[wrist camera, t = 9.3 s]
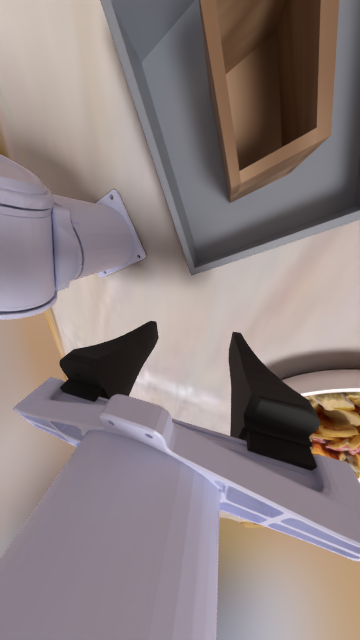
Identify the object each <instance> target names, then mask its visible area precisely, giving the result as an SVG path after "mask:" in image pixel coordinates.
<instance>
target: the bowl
mask: <svg viewBox="0 0 360 640" xmlns="http://www.w3.org/2000/svg"><path fill="white" fill-rule="evenodd" d="M282 381H283V382H284V383H285V384H287V385H288V386H289V387H291V388H292V389H293V390H295V391H296V392H298V393H299V394H301V395H302V396H304V397H305V398H306V399H308V400H309V401H310V403H311V405H312V406H313V408H314V410H315V412H316V414H317V416H318V418H319V420H320V426H319V427H318V429H317V430H316V431H315V432H314V433H313V434H312V435H310V436H309V438H310V441H311V443H312V447H310V449H311V452H312V454H313V455H322V456H326V457H329V458H333V459H336V460H340V461H343V462H346V463H348V464H350V466H351V468H352V469H353V471H354V473H355V475H356V477H357V479H358V481H359V483H360V370H328V371H318V372H312V373H306V374H301V375H297V376H293V377H290V378H287V379H284V380H282Z"/></svg>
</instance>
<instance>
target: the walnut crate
mask: <svg viewBox="0 0 360 640" xmlns="http://www.w3.org/2000/svg"><path fill="white" fill-rule="evenodd" d="M199 8H200V17H201V25H202V33H203V42H204V50H205V59H206V67H207V76H208V84H209V90H210V95H211V101H212V107H213V112H214V118H215V124H216V129H217V135H218V141H219V146H220V152H221V158H222V163H223V169H224V175H225V180H226V186H227V192H228V197H229V203H231V202H233V201H235V200H237V199H240V198H242V197H244V196H246V195H248V194H250V193H252V192H254V191H256V190H258V189H260V188H262V187H264V186H266V185H268V184H270V183H272V182H274V181H276V180H278V179H280V178H282V177H284V176H286V175H288V174H290V173H291V172H292V171H293V170H294V169H295V168H296V167H297V166H298V165H300V164H301V163H302V162H303V161H304V160H305V159H306V158H307V157H308V156H309V155H310V154H311V153H312V152H314V151H315V150H316V149H317V148H318V147H319V146H320V145H321V144H322V143H323V142H324V141H325V140H327V139H328V138H329V137H330V136H331V128H332V111H333V95H334V79H335V62H336V46H337V30H338V13H339V0H199Z"/></svg>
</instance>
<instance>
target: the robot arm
mask: <svg viewBox="0 0 360 640" xmlns="http://www.w3.org/2000/svg"><path fill="white" fill-rule="evenodd" d="M112 195H113V200H112ZM138 255H140V258H139V256H138ZM145 257H146V254H145V251H144V249H143V247H142V244H141V242H140V240H139V238H138V235H137V233H136V231H135V229H134V226H133V224H132V222H131V219H130V217H129V215H128V213H127V210H126V208H125V206H124V203H123V201H122V199H121V197H120V194H119V192H118V191H117V190H114V189H113V190H111V191H110V192H109V193H108V194H106V195H105V196H104V197H103V198H101V199H100V200H99V201H97V202H96V203H91V202H86V201H82V200H77V199H73V198H68V197H64V196H59V195H55V194H52V193H51V191H50V190H49V189H48V188H47V187H46V186H45V185H44V184H43V183H42V181H41V180H40V179H39V178H38V177H37V176H36V175H35V174H33V173H32V172H31V171H29V170H28V169H26V168H25V167H23V166H21V165H20V164H18V163H16V162H14V161H12V160H11V159H9V158H7V157H5V156H3V155H1V154H0V319H17V318H24V317H29V316H33V315H36V314H39V313H42V312H44V311H46V310H48V309H49V308H51V307H52V306H53V305H54V304H55V302H56V300H57V291H60V290H63V289H66V288H68V287H69V283H70V282H71V281H73V280H76V279H79V278H82V277H85V276H88V275H92V274H95V273H98V275H99V276H100V277H104V276H107V275H109V274H111V273H113V272H116V271H118V270H120V269H122V268H124V267H127V266H129V265H131V264H133V263H136V262H138V261H140V260H142V259H144V258H145ZM105 271H106V272H105ZM157 340H158V331H157V323H156V322H155V321H149V322H147V323H146V324H144V325H142V326H140V327H138V328H137V329H135V330H133V331H131V332H129V333H127V334H125V335H123V336H120V337H118V338H116V339H113V340H110V341H107V342H104V343H101V344H97V345H93V346H89V347H84V348H79V349H74V350H72V351H71V352H70V353H68V354H67V355H66V356H65V357H63V358H62V359H61V360H60V367H61V368H62V370H63V371H64V373H65V374H66V376H67V377H68V380H67V381H66V382H64V381H63V380H60V379H57V378H53V377H50V378H49V379H48V380H46V381H45V382H44V383H43V384H42V385H40V386H39V387H38V388H37V389H35V390H34V391H33V392H32V393H31V394H29V395H28V396H27V397H26V398H25V399H24V400H22V401H21V402H20V403H18V404H17V405H16V406H15V407H14V408H13V410H14V411H16V412H17V413H18V414H19V415H21V416H22V417H23V418H24V419H25V420H27V421H28V422H29V423H30V424H32V425H33V426H34V427H36V428H38V429H41V430H43V431H45V432H48V433H49V434H52V435H54V436H56V437H58V438H60V439H62V440H64V441H66V442H68V443H70V444H72V445H74V446H76V447H77V449H76V450H75V451H74V453H73V454H72V456H71V457H70V459H69V460H68V462H67V463H66V465H65V466H64V467H63V469H62V471H61V472H60V473H59V475H58V476H57V477H56V479H55V480H54V482H53V483H52V485H51V486H50V488H49V489H48V490H47V492H46V493H45V495H44V496H43V498H42V499H41V501H40V502H39V504H38V505H37V507H36V508H35V509H34V511H33V512H32V514H31V515H30V517H29V518H28V520H27V521H26V522H25V524H24V525H23V527H22V528H21V530H20V531H19V533H18V534H17V535H16V537H15V538H14V540H13V541H12V542H11V544H10V546H9V547H8V548H7V550H6V551H5V553H4V554H3V556H2V557H1V558H0V640H216V626H217V585H218V544H219V543H218V542H219V510H220V511H223V512H226V513H229V514H232V515H234V516H237V517H240V518H243V519H246V520H248V521H251V522H254V523H257V524H260V525H262V526H265V527H268V528H271V529H273V530H276V531H279V532H282V533H285V534H287V535H290V536H293V537H296V538H298V539H301V540H304V541H306V542H309V543H311V544H314V545H317V546H319V547H322V548H324V549H327V550H329V551H332V552H334V553H337V554H339V555H341V556H344V557H346V558H349V559H351V560H354V561H360V483H359V481H358V479H357V477H356V475H355V473H354V471H353V469H352V468H351V466H350V464H348V463H346V462H343V461H340V460H336V459H333V458H329V457H326V456H322V455H313V454H312V452H311V449H310V447H312V443H311V441H310V438H309V436H310V435H312V434H313V433H314V432H315V431H316V430H317V429H318V427H319V426H320V420H319V418H318V416H317V414H316V412H315V410H314V408H313V406H312V405H311V403H310V401H309V400H308V399H306V398H305V397H304V396H302V395H301V394H299V393H298V392H296V391H295V390H293V389H292V388H291V387H289V386H288V385H287V384H285V383H284V382H283V381H282V380H280V379H279V378H278V377H277V376H276V375H274V374H273V373H272V372H271V371H270V370H269V369H268V368H267V367H266V366H265V365H264V364H263V363H262V362H261V361H260V360H259V359H258V357H257V356H256V355H255V354H254V352H253V351H252V350H251V348H250V347H249V346H248V344H247V343H246V341H245V339H244V338H243V336H242V334H241V333H237V332H233V333H232V338H231V343H230V348H229V367H230V377H231V433H230V436H228V435H225V434H221V433H218V432H215V431H211V430H208V429H205V428H202V427H198V426H195V425H192V424H188V423H185V422H182V421H178V420H175V419H172V418H171V415H170V414H169V412H168V411H167V410H166V409H164V408H163V407H161V406H159V405H156V404H153V403H150V402H146V401H143V400H139V399H136V398H132V397H129V394H130V392H131V389H132V387H133V385H134V383H135V380H136V378H137V376H138V374H139V372H140V370H141V368H142V366H143V364H144V363H145V361H146V360H147V358H148V356H149V355H150V353H151V352H152V350H153V348H154V347H155V345H156V343H157Z"/></svg>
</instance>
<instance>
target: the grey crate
mask: <svg viewBox="0 0 360 640" xmlns="http://www.w3.org/2000/svg"><path fill="white" fill-rule="evenodd" d="M100 1H101V4H102V7H103V10H104V13H105V16H106V19H107V22H108V25H109V28H110V31H111V34H112V37H113V40H114V43H115V47H116V50H117V53H118V56H119V59H120V62H121V65H122V68H123V71H124V74H125V77H126V80H127V83H128V86H129V89H130V92H131V95H132V98H133V101H134V104H135V107H136V110H137V113H138V116H139V119H140V122H141V125H142V128H143V131H144V134H145V137H146V140H147V143H148V146H149V149H150V152H151V155H152V158H153V161H154V164H155V167H156V170H157V173H158V176H159V179H160V183H161V186H162V189H163V192H164V195H165V198H166V201H167V204H168V207H169V210H170V213H171V216H172V219H173V222H174V225H175V228H176V231H177V234H178V237H179V240H180V243H181V246H182V249H183V252H184V255H185V258H186V261H187V264H188V267H189V270H190V273H191V275H194V274H197V273H200V272H203V271H206V270H209V269H213V268H216V267H219V266H222V265H225V264H228V263H231V262H234V261H237V260H240V259H243V258H246V257H249V256H252V255H255V254H258V253H261V252H264V251H267V250H270V249H273V248H276V247H279V246H282V245H285V244H288V243H291V242H294V241H297V240H300V239H303V238H306V237H309V236H312V235H315V234H318V233H321V232H324V231H327V230H330V229H333V228H336V227H339V226H342V225H345V224H348V223H351V222H354V221H357V220H360V0H339V13H338V30H337V46H336V62H335V79H334V95H333V111H332V128H331V136H330V137H329V138H328V139H327V140H325V141H324V142H323V143H322V144H321V145H320V146H319V147H318V148H317V149H316V150H315V151H314V152H312V153H311V154H310V155H309V156H308V157H307V158H306V159H305V160H304V161H303V162H302V163H301V164H300V165H298V166H297V167H296V168H295V169H294V170H293V171H292V172H291V173H290V174H288V175H286V176H284V177H282V178H280V179H278V180H276V181H274V182H272V183H270V184H268V185H266V186H264V187H262V188H260V189H258V190H256V191H254V192H252V193H250V194H248V195H246V196H244V197H242V198H240V199H237V200H235V201H233V202H231V203H229V197H228V192H227V186H226V180H225V175H224V169H223V163H222V158H221V152H220V146H219V141H218V135H217V129H216V124H215V118H214V112H213V107H212V101H211V95H210V90H209V84H208V76H207V67H206V59H205V50H204V42H203V33H202V25H201V17H200V8H199V0H100Z"/></svg>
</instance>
